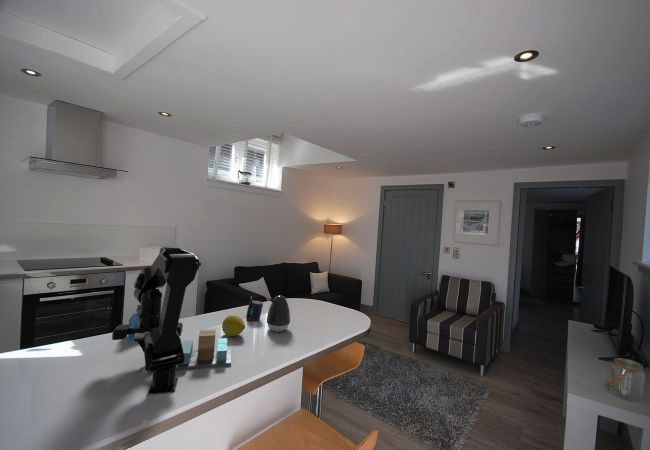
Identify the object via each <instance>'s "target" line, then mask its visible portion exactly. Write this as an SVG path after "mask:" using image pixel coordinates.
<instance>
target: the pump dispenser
mask: <svg viewBox="0 0 650 450" xmlns="http://www.w3.org/2000/svg"><path fill="white" fill-rule="evenodd" d="M269 302H271V303H270V306H269V308H268V312H267V317H266V324H267V327H268V328H269V330H270V331H272V332H274V333H280V332H284V331H286V330H287V329H288V327H289V325H290V324H291V313H290V306H289V304H288V303H289V302H288V300H287V298H286V297H285V296H283V295H282V294H280V295H276V296H275V297H274V298H270V299H269Z"/></svg>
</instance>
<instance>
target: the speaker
mask: <svg viewBox="0 0 650 450" xmlns="http://www.w3.org/2000/svg"><path fill="white" fill-rule="evenodd" d="M263 306H264V302H262V301H260V300H253V297H252V296H250V298H249V303H248V305H247V311H246V315H245V318H246V321H248V320H250V321H253V322H254V321H255V322H256V321H257V322H258V321H260V319H261V315H262V311H263Z"/></svg>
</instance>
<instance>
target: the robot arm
mask: <svg viewBox="0 0 650 450" xmlns="http://www.w3.org/2000/svg"><path fill="white" fill-rule="evenodd" d="M200 263H201V262H200V259H199V257H197V256H196V255H195V253H193V252H190V251H188V250H185V249H183V248H182V247H180V246H163V247H160V249H159V254H158V255H157V257H156V258H155V260H154V261H153V262H152V264H151V266H147V267H144V268H143V269H142V270H140V273H139V274H138V275H137V277H136V279H135V280H134V284H133V288H134V291H133V297H134V299H136V301H137V302H139V304H141V309H140V314H139V321H140V324H139V328H133V325H132V324H129V323H128V324H119V325H118V326H117V327H115V329H114V330H113V331H112V335H111V340H113V341H120V340H121V341H122V340H125V339H126V338H127V337H128V335H130V334H135V339H134V341H133V342H137V344H138V345H139V346H140V348H141V350H142V352H143V356H144V371H150V372H149V373H152V376H151V377H152V379H151V380H152V381H151V384H150V387H149V389H148V391H147V395H154V394H163V393H164V394H165V393H174V392H175V391H176V388H177V384H178V380H179V378H178V377H176V375H177V370H176V365H179V364H183V363H184V359H185V357H184V352H183V348H182V344H183V342H182V339H181V337H180V336H181V335H182V332H183V329H184V324H183V322H179V321H180V317H181V313H182V309H183V308H182V307H183V303H184V299H185V295H186V289H187V287H188V286H189V285H190V284H191V283H192V282H193V281H194V280H195V278H196V276H197V273H198V271H199V269H200ZM165 285H166V287H165V291H164V296H163V292H162V291H161V290H160V288H164V286H165ZM149 334H150V336H149ZM148 336H149V338H148ZM172 355H176V356H174V357H170V358H166V359H162V360H158V361H154V362H153V360H156V359H160V358H164V357H168V356H172Z"/></svg>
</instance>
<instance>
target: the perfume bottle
mask: <svg viewBox="0 0 650 450" xmlns="http://www.w3.org/2000/svg"><path fill="white" fill-rule="evenodd" d="M136 307H137V308H136V310H135V311H136V313H135V312H134V313H133V314H132V315H131V317H129V320H128V324H132V325H133V328H139V324H140V321H139V314H140V309H141V303H139V304H138V305H137V306H136ZM149 336H150V334H149ZM149 336H148V339H149ZM127 337H129V338H130V339H131V340H132V341H133V342H135V341H134V339H135V334H130V335H127Z"/></svg>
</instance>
